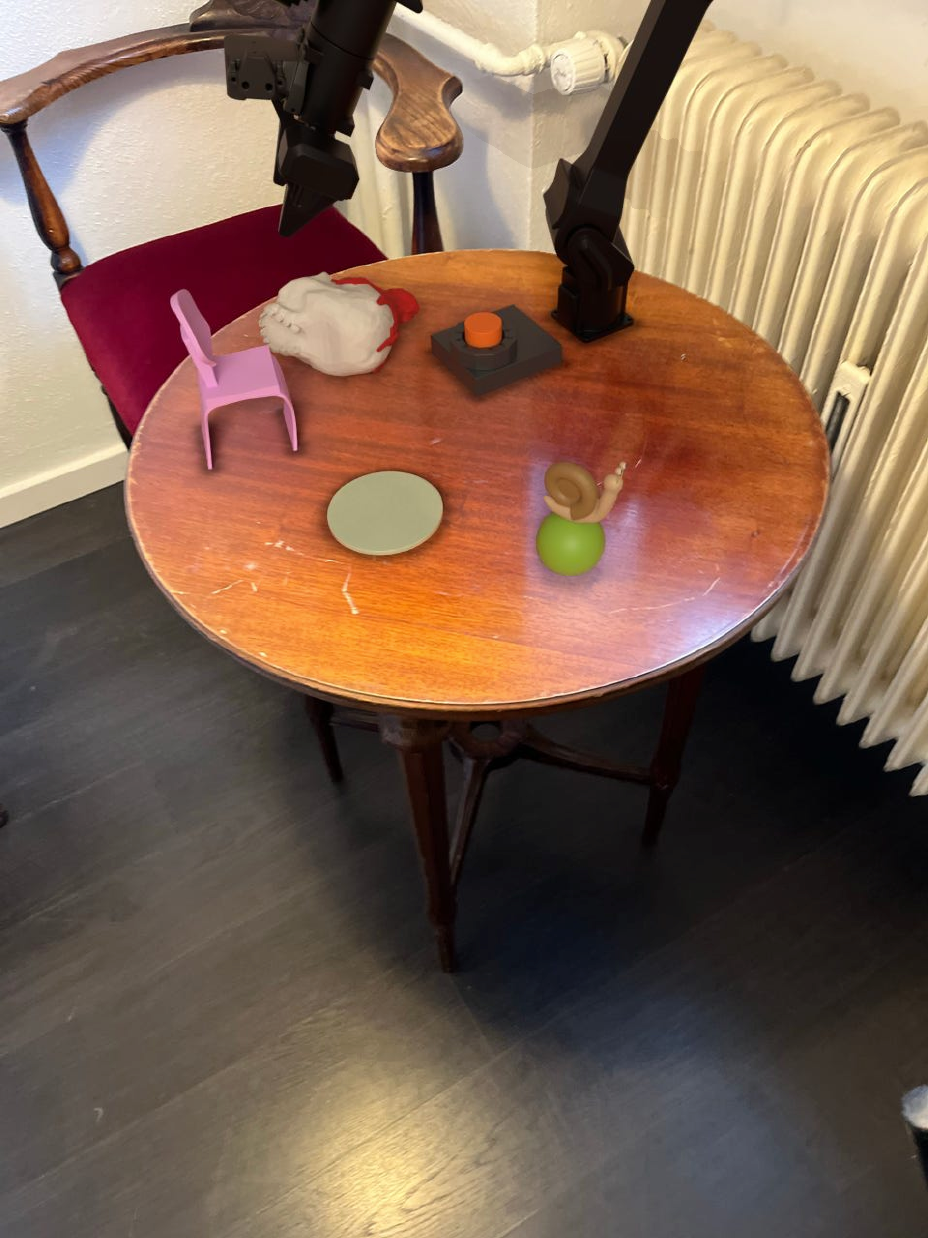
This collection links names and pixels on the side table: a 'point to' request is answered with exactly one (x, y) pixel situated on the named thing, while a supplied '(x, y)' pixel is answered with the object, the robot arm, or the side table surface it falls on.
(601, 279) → the robot arm
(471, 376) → the button block
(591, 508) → the snail figurine
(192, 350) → the toy chair
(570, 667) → the side table surface
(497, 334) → the button
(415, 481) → the coaster
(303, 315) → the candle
